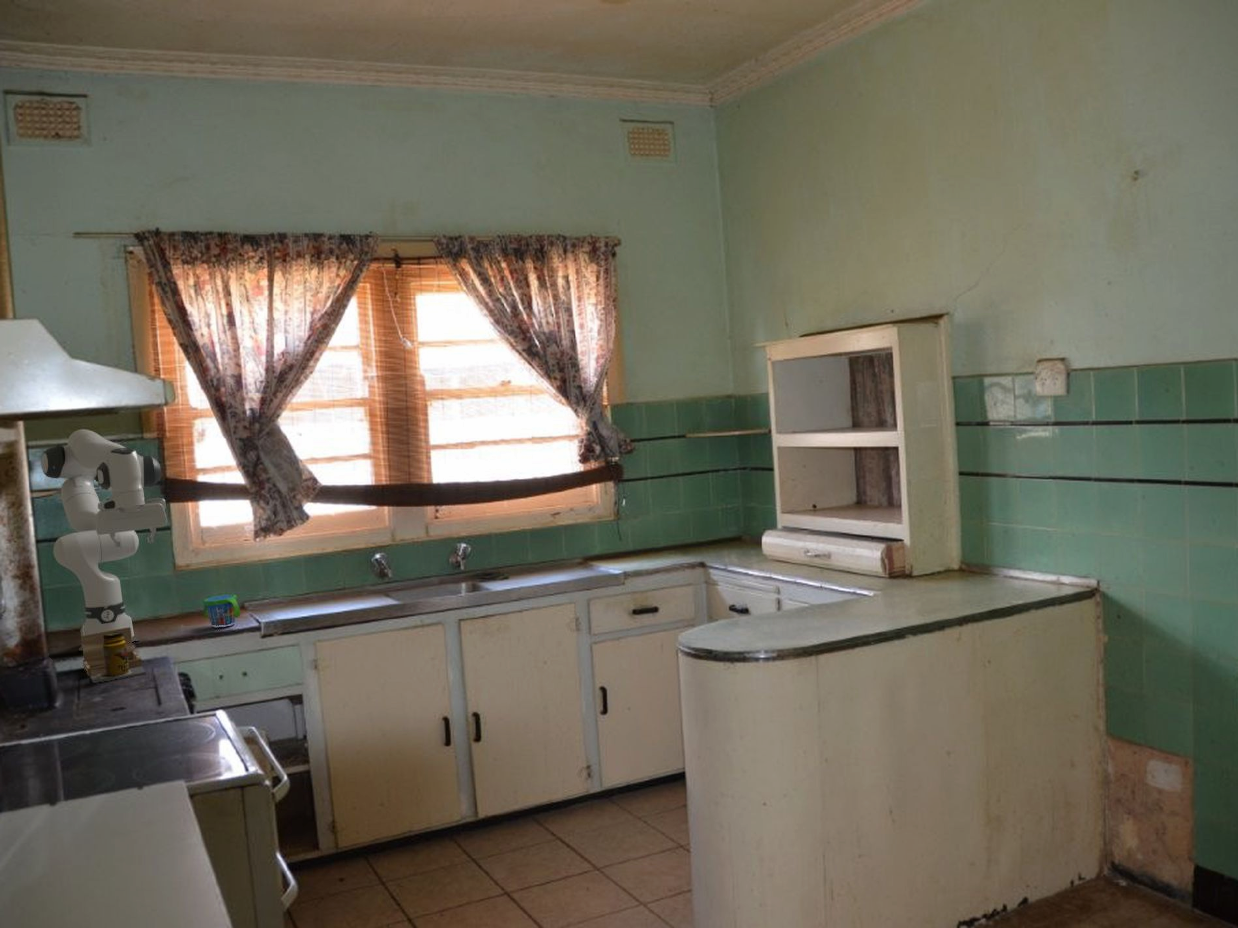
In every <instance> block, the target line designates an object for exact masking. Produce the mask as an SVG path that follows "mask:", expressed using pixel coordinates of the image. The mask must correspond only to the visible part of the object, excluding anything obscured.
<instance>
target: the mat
mask: <svg viewBox="0 0 1238 928" xmlns="http://www.w3.org/2000/svg"><path fill="white" fill-rule="evenodd" d="M129 670H130V671H131V672H132V673H131V674H126V675H121V676H116V677H110V678H106V679H100V678H99V677H98V675H95V676H90V677H91V678H90V677H89V678H90V680H91V679H92V680H91V682H92V681H93V682H92V683H97V684H99V683H98V682H101V681H107V682H112V681H116V680H115V679H117V680H121V679H122V680H123V679H127V678H132V677H137V676H141V675H146V674H147V671H146V669H145V668H144V667H143V665H142V666H141V667H136V668H131V669H129ZM126 677H127V678H126ZM111 680H112V681H111Z"/></svg>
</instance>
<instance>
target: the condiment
mask: <svg viewBox="0 0 1238 928" xmlns="http://www.w3.org/2000/svg"><path fill="white" fill-rule="evenodd" d="M103 638H104V645H103V650H104V658H105V665H106V673H103V674H97V675H98V677H99V678H100V679H106V678H110V677H116V676H121V675H126V674H131V673H132V672H131V671H130V670H129V665H128V661H129V660H128V657H127V649H126V642H125V641H124V637H123V633H122V632H112V633H108V634H105V635H104V636H103Z"/></svg>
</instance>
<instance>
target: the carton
mask: <svg viewBox="0 0 1238 928" xmlns="http://www.w3.org/2000/svg"><path fill="white" fill-rule="evenodd" d="M112 632H122V633H123V637H124V641H125V642H126V649H127V657H128V665H129V669H131V668H136V667H141V666H142V667H143V661H142V658H141V656H140V655H139V654H138V653H137V652H136V650H134V643H132V636H131V628H130V627H127V628H122V629H116V630H110V631H105V632H99V633H93V634H88V635H82V636H81V635H80V639H81V644H82V647H83V652H82V653H83V660H82V664H83V665H82V666H83V669H84V671H85V670H86V671H87V673H86V675H87V674H88V675H87V677H88V676H94V675H97V674H103V673H106V665H105V658H104V650H103V645H104V638H103V636H104V635H105V634H108V633H112ZM86 671H85V672H86Z"/></svg>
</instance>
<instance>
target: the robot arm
mask: <svg viewBox="0 0 1238 928" xmlns="http://www.w3.org/2000/svg"><path fill="white" fill-rule="evenodd" d="M40 466H41V469H42V472H43V474H44V475H45V476H46V477H47V478H50V479H65V481H63V483H62V485H61V487H60V495H61V501H62V505H63V510H64V513H65V515H66V518H67V521H68V524H69V526H70V527H71V528H72V529H73V530H74V531H75V532H72V533H69V534H66V535H63V536H60V537H58V538H57V539H56V541H55V543H54V544H53V551H52V552H53V556H54V558H55V560H56V562H57V563H58V564H59V565H61V566H63V567H65V568H66V569H68V570H70V571H71V572H72V573H74V575H76V577H77V578H78V579H79V580H78V581H80V584H81V587H82V590H83V596H84V602H85V606H84V614H85V618H86V621H85V622H83V625H82V627H81V628H80V637H81V636H82V635H88V634H93V633H99V632H105V631H110V630H116V629H122V628H127V627H130V628H131V636H132V637H133V636H135V634H134V627H133V622H132V618H131V616H130V615H128V614H127V613H126V605H125V601H124V600H123V596H122V588H121V587H122V586H121V581H120V579H119V577H118V576H117V575H115V574H112V573H110V572H106V571H102V570H100V568H99V564H100V563H106V562H113V561H119V560H123V559H125V558H126V559H127V558H128V557H132V556H133V555H135V554H136V553H137V550H138V549H139V545H140V542H139V541H140V540H139V537H138V534H137V532H136V531H139V530H147V529H150V532H151V533H150V536H148V537H146V538H147V543H148V544H152V543H154V537H155V534H156V532H157V528H162V527H166V526H167V524H168V518H167V513H166V511H165V510H166V508H167V504H166V503H167V502H166V500H165V499H164V498H161V497H152V498H151V497H148V498H145V493H144V488H151V487H154V486H155V485H157V483H158V482H159V481H160V479H161V478H162V468H161V464H160V463H159V461H158V460H157V459H156V458H155V457H153V456H151V454H148V455H143V454H142V453H140V452H139V451H136V449H133V448H130V447H129V446H125V445H122V444H120V443H119V444H118V443H115V442H114V441H110V440H109V439H106V438H105V437H102V436H101V435H100V434H98V433H97V432H94V431H92V430H90V429H83V428H82V429H78V430H76V431H73V432H72V433H71V434H70V435H69V438H68V440H67V445H60V444H56V445H55V446H52V447H49V448H47V449H46V450H44V452H43V453H42V455H41V459H40ZM94 481H96V482H97V484H98V485H99V486H100V487H101V488H103V490H106V491H112V492H111V494H112V495H111V497H110V498H109V497H108V498H107V499H104V500H102V501H100V498H99V496H98V494H97V491H96V490H95V487H94V484H95V483H94Z"/></svg>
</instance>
